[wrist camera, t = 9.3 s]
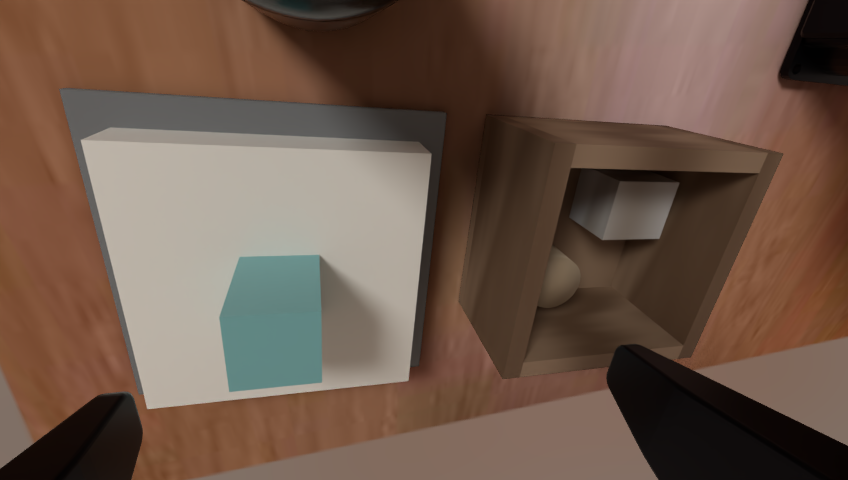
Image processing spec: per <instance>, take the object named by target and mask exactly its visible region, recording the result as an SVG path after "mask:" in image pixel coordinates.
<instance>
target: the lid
mask: <svg viewBox="0 0 848 480" xmlns="http://www.w3.org/2000/svg"><path fill="white" fill-rule="evenodd" d="M81 143H82V147H83V152H84V156H85V160H86V164H87V168H88V172H89V176H90V180H91V184H92V188H93V192H94V196H95V200H96V204H97V208H98V212H99V216H100V220H101V224H102V228H103V232H104V236H105V240H106V244H107V248H108V252H109V256H110V260H111V264H112V268H113V272H114V276H115V280H116V284H117V288H118V292H119V296H120V300H121V304H122V308H123V312H124V316H125V320H126V324H127V328H128V332H129V337H130V341H131V345H132V349H133V353H134V357H135V361H136V365H137V369H138V373H139V377H140V381H141V385H142V389H143V393H144V397H145V401H146V405H147V409H153V408H162V407H172V406H181V405H190V404H200V403H209V402H218V401H227V400H237V399H246V398H255V397H265V396H274V395H283V394H293V393H302V392H311V391H320V390H330V389H339V388H348V387H358V386H367V385H376V384H386V383H395V382H404V381H408V380H409V370H410V360H411V351H412V341H413V331H414V321H415V312H416V302H417V292H418V283H419V273H420V263H421V253H422V244H423V234H424V224H425V214H426V205H427V195H428V185H429V176H430V166H431V156H432V154H431V153H430V152H429V151H428V150H427V149H426V148H425V147H424V146H423V145H422V144H421V143H420V142H412V141H391V140H370V139H348V138H327V137H305V136H284V135H262V134H241V133H219V132H198V131H177V130H155V129H134V128H112V127H110V128H108V129H105V130H103V131H101V132H98V133H96V134H94V135H91V136H89V137H87V138H84V139H82V140H81Z"/></svg>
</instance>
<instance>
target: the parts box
mask: <svg viewBox="0 0 848 480" xmlns="http://www.w3.org/2000/svg"><path fill="white" fill-rule="evenodd" d="M782 156H783V153H779V152H775V151H771V150H766V149H762V148H758V147H754V146H749V145H745V144H741V143H737V142H732V141H728V140H724V139H720V138H716V137H711V136H707V135H703V134H699V133H694V132H690V131H686V130H682V129H677V128H673V127H669V126H660V125H644V124H629V123H613V122H597V121H581V120H565V119H549V118H533V117H518V116H502V115H486V119H485V126H484V133H483V140H482V146H481V153H480V160H479V167H478V173H477V180H476V187H475V193H474V200H473V207H472V214H471V220H470V227H469V234H468V241H467V247H466V254H465V261H464V268H463V274H462V281H461V288H460V294H459V303H460V305H461V306H462V308H463V310H464V312H465V314H466V315H467V317H468V319H469V321H470V322H471V324H472V326H473V328H474V329H475V331H476V333H477V335H478V336H479V338H480V340H481V342H482V343H483V345H484V347H485V349H486V351H487V352H488V354H489V356H490V358H491V359H492V361H493V363H494V365H495V366H496V368H497V370H498V372H499V373H500V375H501V377H502V379H508V378H517V377H525V376H534V375H543V374H551V373H560V372H569V371H577V370H586V369H594V368H603V367H609V366H610V363H611V360H612V357H613V355H614V352H615V350H616V348H617V347H618V346H620V345H625V344H639V345H642V346H644V347H646V348H648V349H650V350H652V351H654V352H656V353H658V354H660V355H662V356H664V357H666V358H668V359H670V360H672V359H680V358H689V357H691V356H692V354H693V352H694V349H695V347H696V345H697V343H698V341H699V338H700V336H701V334H702V332H703V330H704V327H705V325H706V323H707V321H708V319H709V316H710V314H711V312H712V310H713V308H714V305H715V303H716V301H717V299H718V297H719V294H720V292H721V290H722V288H723V286H724V283H725V281H726V279H727V277H728V275H729V272H730V270H731V268H732V266H733V264H734V262H735V259H736V257H737V255H738V253H739V251H740V248H741V246H742V244H743V242H744V240H745V237H746V235H747V233H748V231H749V229H750V226H751V224H752V222H753V220H754V218H755V215H756V213H757V211H758V209H759V207H760V204H761V202H762V200H763V198H764V196H765V193H766V191H767V189H768V187H769V185H770V183H771V180H772V178H773V176H774V174H775V172H776V169H777V167H778V165H779V163H780V161H781V158H782Z"/></svg>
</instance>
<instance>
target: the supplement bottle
mask: <svg viewBox="0 0 848 480" xmlns="http://www.w3.org/2000/svg"><path fill="white" fill-rule="evenodd" d="M242 1H244V2H245V3H247V4H249V5H250V6H252V7H254V8H255V9H257V10H258V11H260V12H262V13H263V14H265V15H267V16H268V17H270V18H272V19H274V20H276V21H278V22H280V23H283V24H285V25H288V26H291V27H294V28H297V29H301V30H306V31H314V32H329V31H337V30H341V29H345V28H348V27H351V26H354V25H356V24H358V23H360V22H363V21H364V20H366V19H368V18H370V17H371V16H373V15H375V14H377V13H378V12H380V11H382V10H384V9H385V8H387V7H389V6H390V5H392V4H394V3H395V2H397V1H398V0H242Z"/></svg>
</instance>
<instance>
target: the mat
mask: <svg viewBox="0 0 848 480" xmlns="http://www.w3.org/2000/svg"><path fill="white" fill-rule="evenodd" d="M59 90H60V94H61V97H62V101H63V105H64V109H65V113H66V117H67V120H68V124H69V128H70V132H71V136H72V140H73V143H74V147H75V151H76V155H77V159H78V163H79V166H80V170H81V174H82V178H83V182H84V186H85V189H86V193H87V197H88V201H89V205H90V209H91V212H92V216H93V220H94V224H95V228H96V232H97V235H98V239H99V243H100V247H101V251H102V255H103V258H104V262H105V266H106V270H107V274H108V278H109V281H110V285H111V289H112V293H113V297H114V301H115V304H116V308H117V312H118V316H119V320H120V324H121V327H122V331H123V335H124V339H125V343H126V347H127V350H128V354H129V358H130V362H131V366H132V370H133V373H134V377H135V381H136V385H137V389H138V393H139V394H144V393H143V389H142V385H141V381H140V377H139V373H138V369H137V365H136V361H135V357H134V353H133V349H132V345H131V341H130V337H129V332H128V328H127V324H126V320H125V316H124V312H123V308H122V304H121V300H120V296H119V292H118V288H117V284H116V280H115V276H114V272H113V268H112V264H111V260H110V256H109V252H108V248H107V244H106V240H105V236H104V232H103V228H102V224H101V220H100V216H99V212H98V208H97V204H96V200H95V196H94V192H93V188H92V184H91V180H90V176H89V172H88V168H87V164H86V160H85V156H84V152H83V147H82V143H81V140H82V139H84V138H87V137H89V136H91V135H94V134H96V133H98V132H101V131H103V130H105V129H108V128H110V127H112V128H134V129H155V130H177V131H198V132H219V133H241V134H262V135H284V136H305V137H327V138H348V139H370V140H391V141H412V142H420V143H421V144H422V145H423V146H424V147H425V148H426V149H427V150H428V151H429V152H430V153H431V154H432V156H431V166H430V176H429V185H428V195H427V205H426V214H425V224H424V234H423V244H422V253H421V263H420V273H419V283H418V292H417V302H416V312H415V321H414V331H413V341H412V351H411V360H410V367H415V366H419V361H420V352H421V343H422V333H423V324H424V315H425V306H426V297H427V288H428V279H429V270H430V261H431V252H432V242H433V233H434V224H435V215H436V206H437V197H438V188H439V179H440V170H441V160H442V151H443V142H444V133H445V124H446V115H447V113H445V112H438V111H422V110H407V109H391V108H375V107H359V106H343V105H327V104H312V103H296V102H280V101H264V100H248V99H232V98H216V97H201V96H185V95H169V94H153V93H137V92H121V91H105V90H90V89H74V88H63V89H59Z"/></svg>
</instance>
